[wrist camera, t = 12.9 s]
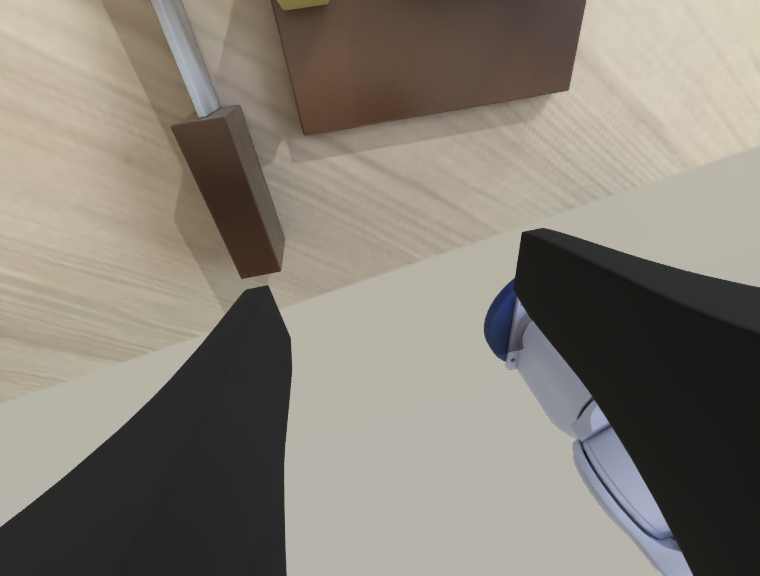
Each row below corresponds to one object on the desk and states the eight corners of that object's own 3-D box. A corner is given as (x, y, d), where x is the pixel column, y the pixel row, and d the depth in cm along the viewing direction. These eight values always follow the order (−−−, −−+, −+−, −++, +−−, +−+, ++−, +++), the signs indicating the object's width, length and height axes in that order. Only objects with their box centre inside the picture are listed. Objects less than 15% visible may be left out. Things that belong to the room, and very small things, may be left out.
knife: (285, 240, 19) (281, 271, 16) (251, 246, 19) (241, 279, 16) (140, -192, 10) (77, -281, 7) (72, -185, 10) (-17, -273, 7)
